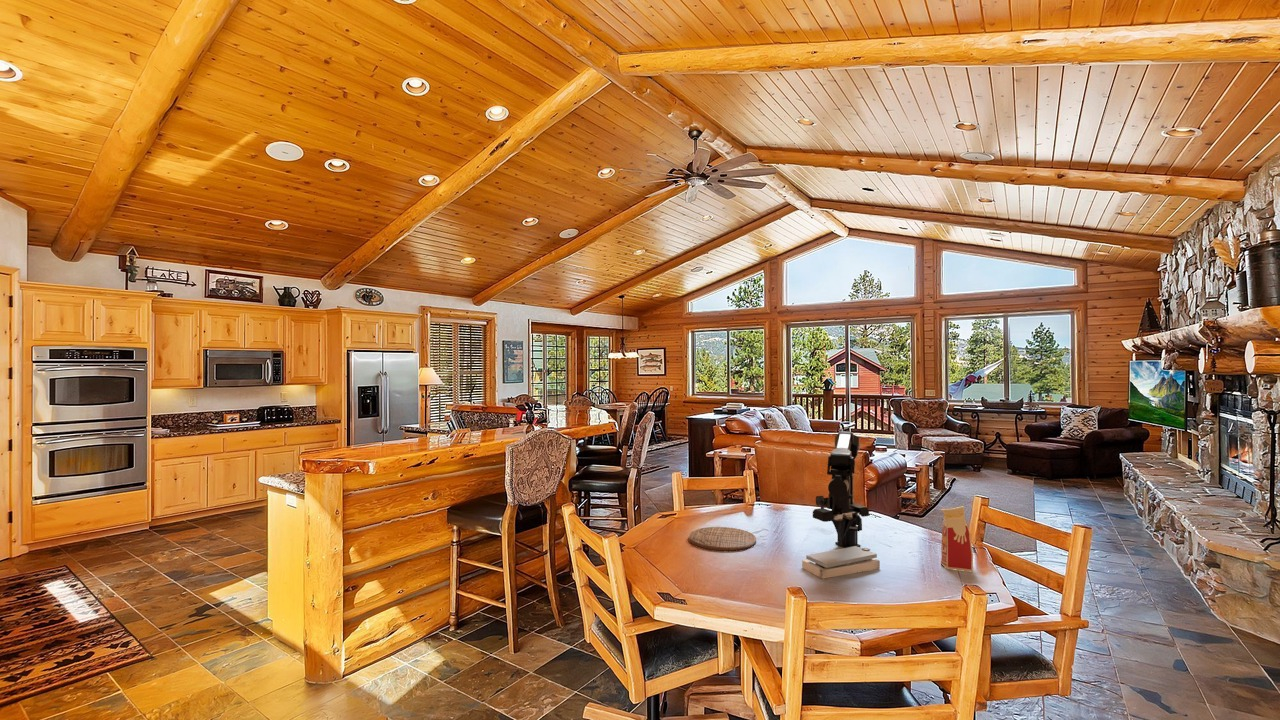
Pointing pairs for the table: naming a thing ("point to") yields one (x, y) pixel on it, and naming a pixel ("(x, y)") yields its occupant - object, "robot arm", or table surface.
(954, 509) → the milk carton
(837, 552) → the cover
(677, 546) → the table surface
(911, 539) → the table surface
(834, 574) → the long open tray
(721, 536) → the trivet
